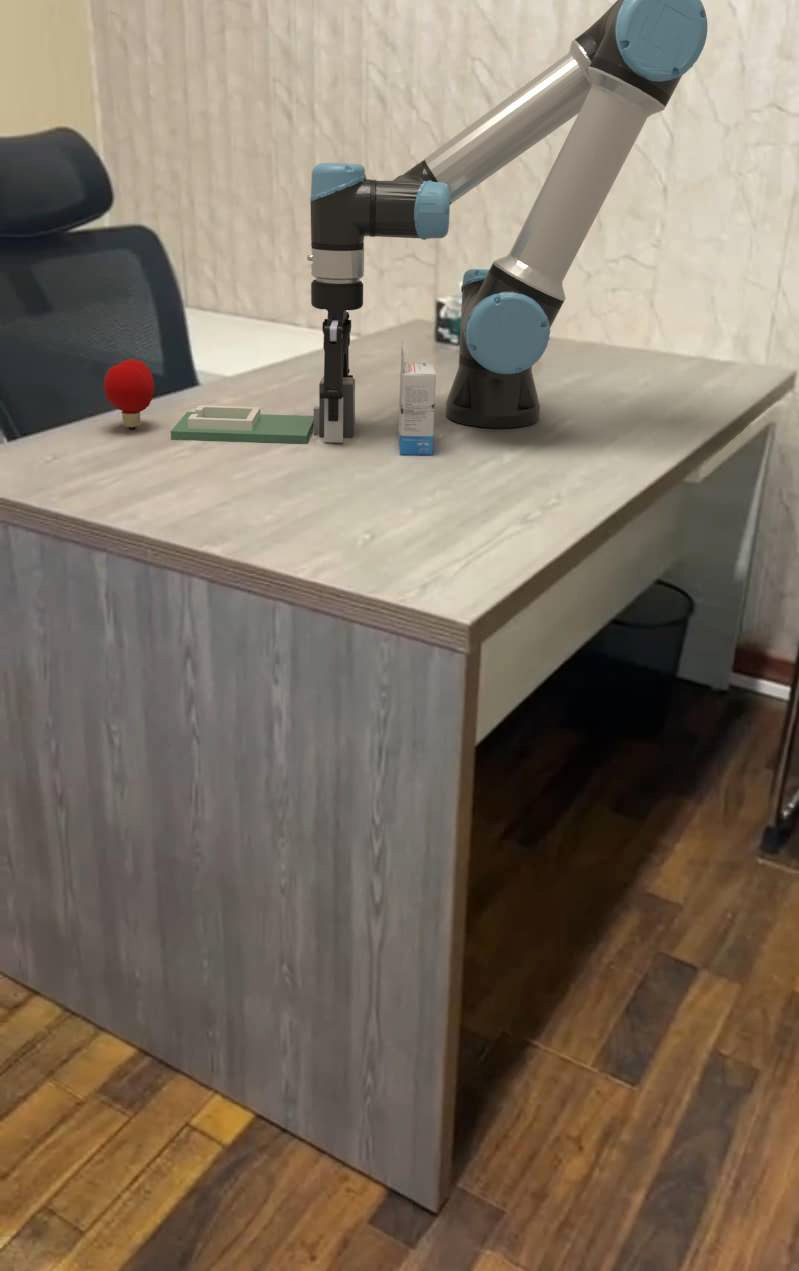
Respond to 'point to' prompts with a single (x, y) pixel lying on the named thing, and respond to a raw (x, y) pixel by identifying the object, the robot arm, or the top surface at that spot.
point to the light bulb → (129, 390)
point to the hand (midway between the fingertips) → (336, 433)
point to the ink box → (416, 407)
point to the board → (242, 426)
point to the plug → (348, 409)
